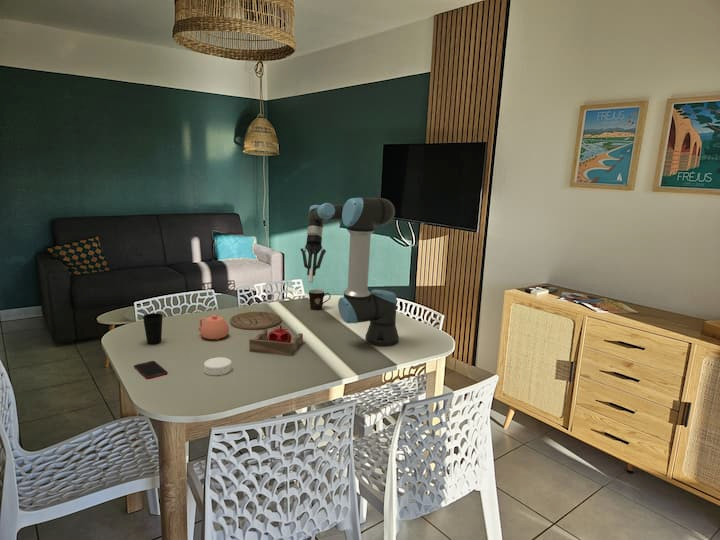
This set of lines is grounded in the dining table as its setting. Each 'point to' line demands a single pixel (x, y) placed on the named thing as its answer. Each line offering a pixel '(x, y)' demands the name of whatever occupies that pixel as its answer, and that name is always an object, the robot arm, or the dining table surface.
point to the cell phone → (150, 370)
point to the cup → (153, 328)
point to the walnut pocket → (274, 345)
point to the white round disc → (217, 366)
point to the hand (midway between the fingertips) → (310, 282)
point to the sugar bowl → (213, 327)
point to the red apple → (279, 335)
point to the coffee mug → (317, 299)
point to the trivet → (255, 320)
